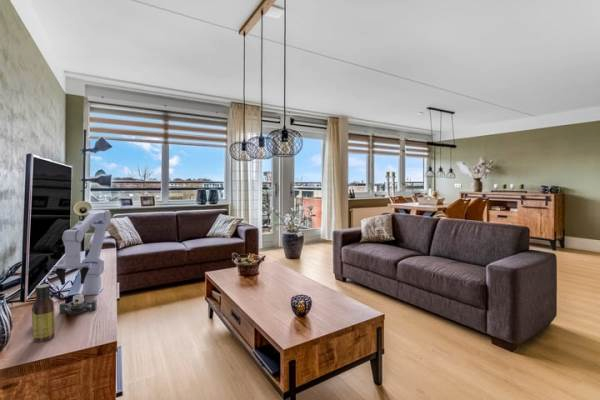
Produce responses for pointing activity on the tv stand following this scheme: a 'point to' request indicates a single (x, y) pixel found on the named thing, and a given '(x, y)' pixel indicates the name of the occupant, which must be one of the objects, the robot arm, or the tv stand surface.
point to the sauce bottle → (43, 314)
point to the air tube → (78, 300)
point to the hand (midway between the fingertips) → (72, 283)
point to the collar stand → (78, 307)
